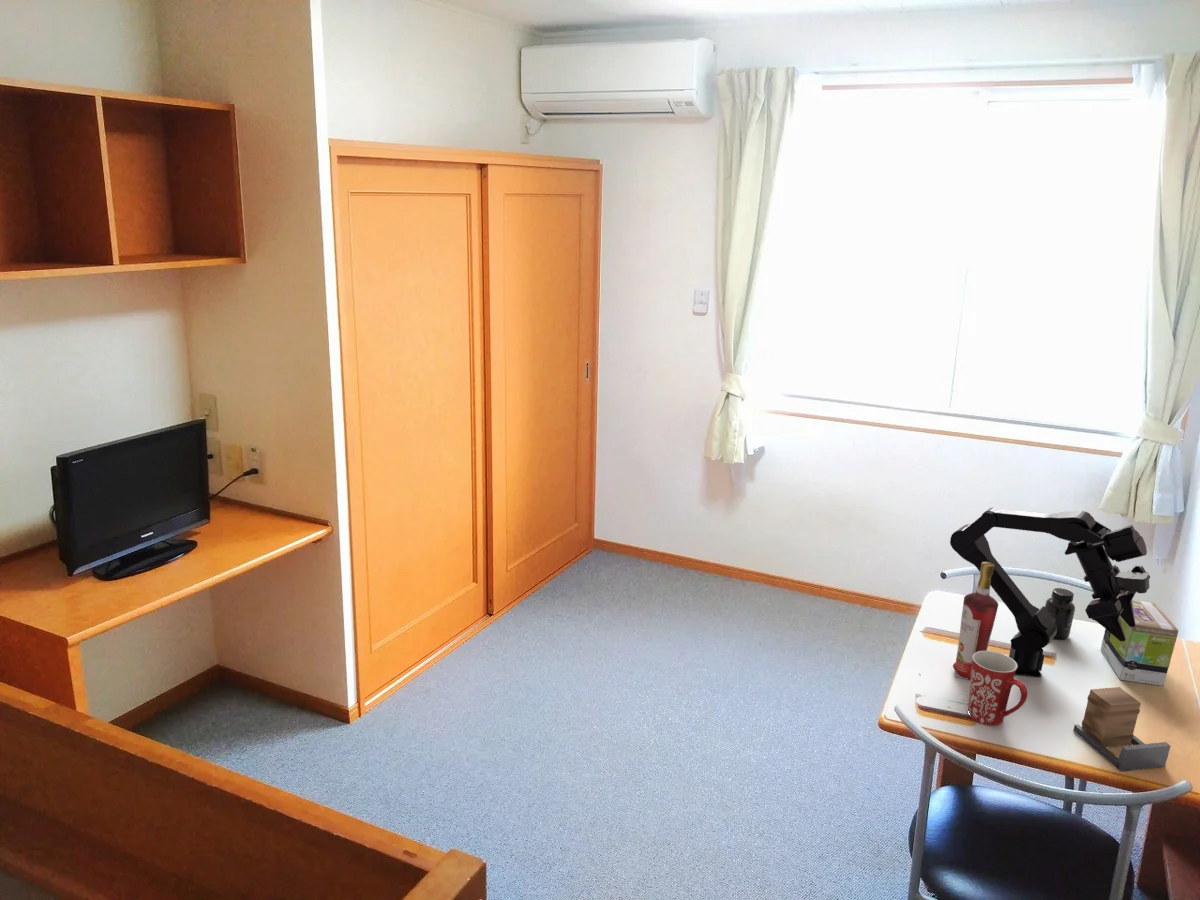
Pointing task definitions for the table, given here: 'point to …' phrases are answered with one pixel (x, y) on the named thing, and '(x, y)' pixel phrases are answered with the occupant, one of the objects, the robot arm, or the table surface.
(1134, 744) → the bay
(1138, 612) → the tea box
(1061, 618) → the supplement bottle
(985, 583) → the liquor
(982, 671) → the mug
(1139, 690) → the table surface
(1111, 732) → the chest
